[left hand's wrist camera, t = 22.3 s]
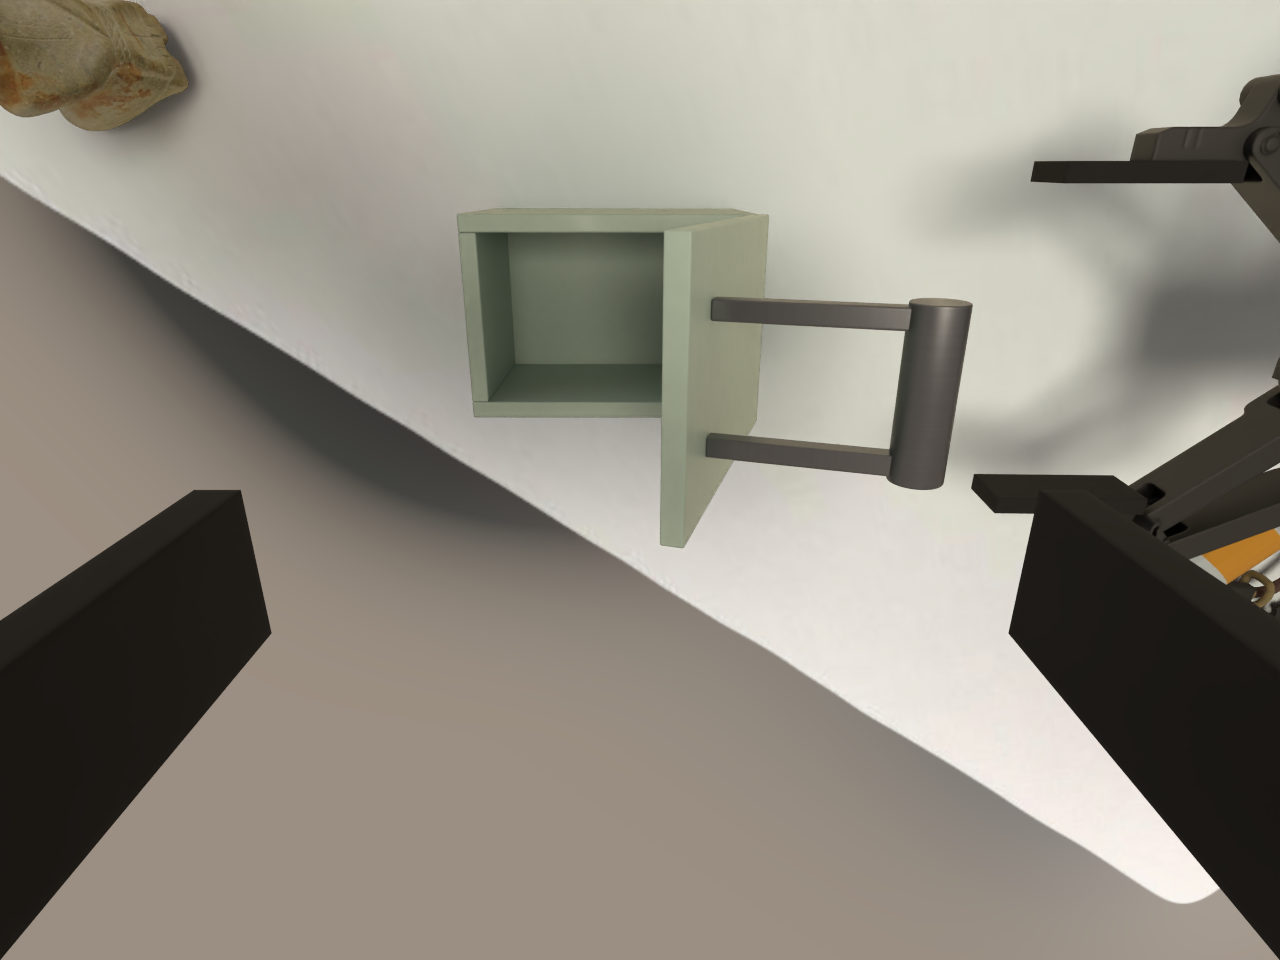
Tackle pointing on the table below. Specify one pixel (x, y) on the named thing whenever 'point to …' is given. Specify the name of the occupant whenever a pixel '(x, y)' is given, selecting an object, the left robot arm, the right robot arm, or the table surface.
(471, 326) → the chest
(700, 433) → the lid
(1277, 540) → the spray gun
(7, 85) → the sculpture
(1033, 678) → the table surface
